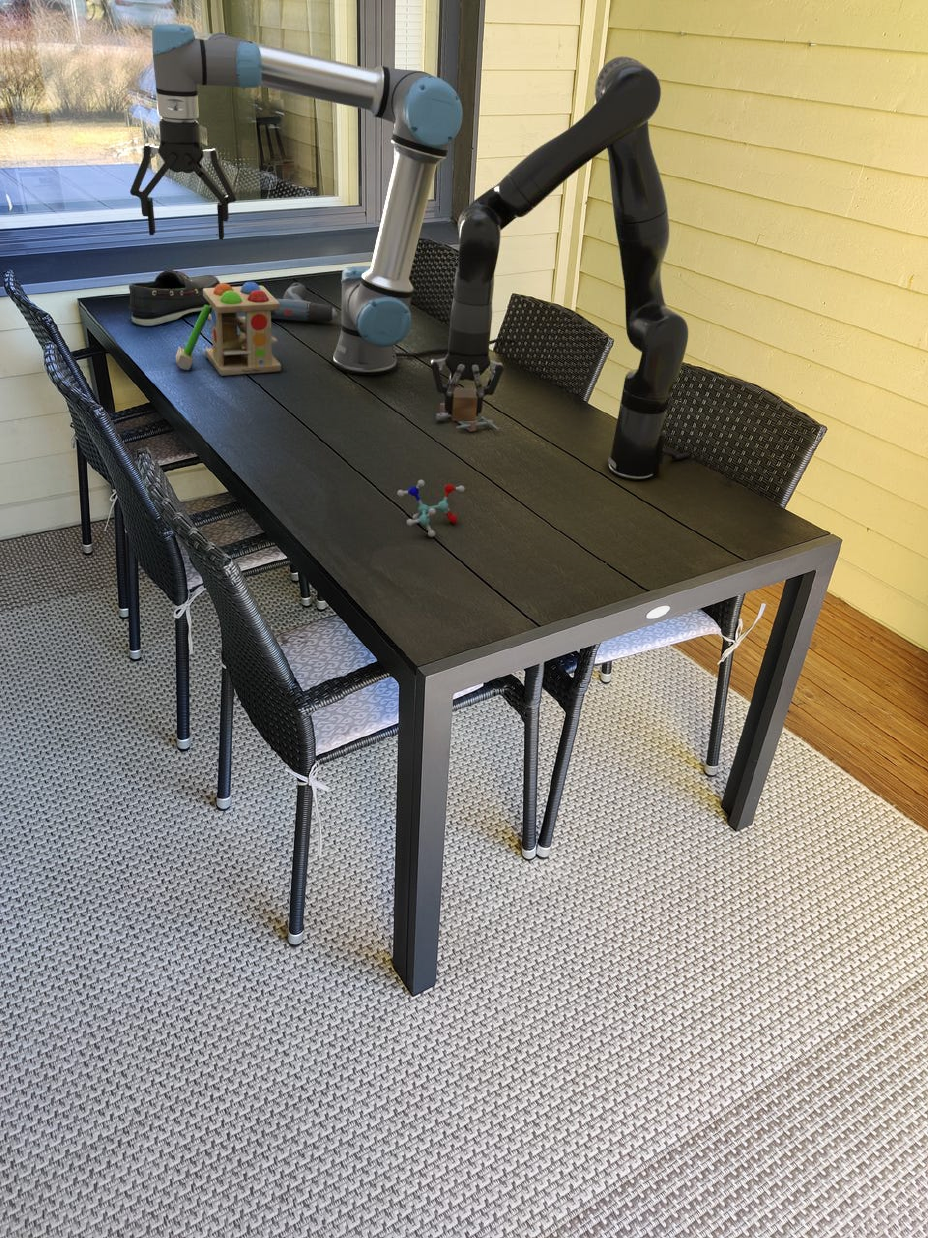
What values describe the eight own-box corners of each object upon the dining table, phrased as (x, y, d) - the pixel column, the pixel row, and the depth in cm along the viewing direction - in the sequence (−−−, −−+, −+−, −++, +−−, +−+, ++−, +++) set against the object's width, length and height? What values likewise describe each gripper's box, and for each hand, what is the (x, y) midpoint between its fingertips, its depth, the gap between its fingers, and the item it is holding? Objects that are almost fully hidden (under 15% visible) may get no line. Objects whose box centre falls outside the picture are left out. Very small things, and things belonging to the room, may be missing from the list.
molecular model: (455, 530, 166) (436, 473, 165) (406, 545, 170) (387, 490, 168) (476, 520, 177) (458, 467, 175) (430, 535, 180) (412, 483, 179)
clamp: (428, 404, 215) (467, 399, 219) (427, 414, 216) (466, 408, 220) (462, 431, 204) (502, 425, 209) (461, 441, 205) (501, 434, 210)
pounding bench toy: (183, 379, 220) (176, 299, 210) (169, 357, 231) (162, 280, 221) (282, 371, 230) (280, 294, 220) (264, 350, 240) (262, 276, 230)
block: (452, 420, 185) (454, 396, 182) (449, 410, 189) (451, 386, 186) (475, 421, 185) (477, 397, 183) (472, 411, 189) (474, 388, 187)
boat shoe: (241, 304, 270) (238, 265, 264) (149, 328, 246) (144, 285, 240) (207, 295, 275) (204, 257, 270) (113, 318, 251) (108, 276, 246)
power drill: (344, 304, 276) (335, 327, 259) (277, 298, 275) (264, 321, 258) (344, 285, 273) (335, 306, 256) (277, 279, 272) (264, 300, 255)
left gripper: (106, 116, 181) (119, 236, 193) (244, 127, 185) (248, 244, 197) (114, 110, 188) (126, 227, 200) (247, 121, 191) (251, 234, 203)
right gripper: (432, 329, 173) (426, 420, 183) (512, 333, 175) (502, 423, 185) (429, 316, 179) (424, 404, 189) (506, 320, 181) (497, 407, 191)
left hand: (187, 235), depth 198 cm, fingers open, 13 cm apart
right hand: (462, 413), depth 187 cm, fingers closed on block, 4 cm apart
